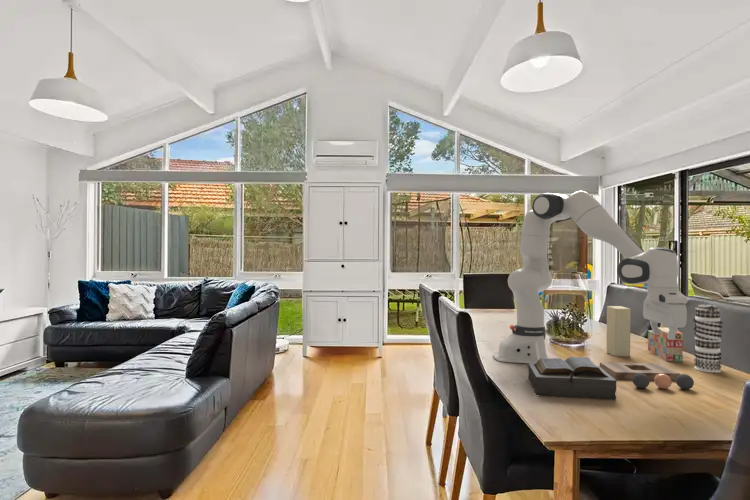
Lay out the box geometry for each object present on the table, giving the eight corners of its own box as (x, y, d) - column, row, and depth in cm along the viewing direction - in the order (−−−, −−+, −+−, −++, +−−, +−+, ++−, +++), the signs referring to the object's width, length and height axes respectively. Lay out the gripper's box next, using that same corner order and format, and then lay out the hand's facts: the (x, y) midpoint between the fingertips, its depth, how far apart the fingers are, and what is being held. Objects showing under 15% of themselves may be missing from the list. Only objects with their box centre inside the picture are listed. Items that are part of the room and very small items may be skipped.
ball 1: (636, 390, 149) (636, 375, 149) (629, 385, 154) (629, 371, 154) (652, 390, 149) (652, 375, 149) (644, 385, 154) (644, 371, 154)
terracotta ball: (658, 390, 149) (658, 375, 149) (651, 386, 154) (651, 371, 154) (674, 391, 148) (674, 376, 148) (666, 386, 153) (666, 371, 153)
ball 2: (681, 391, 148) (681, 376, 148) (672, 386, 153) (672, 371, 153) (697, 391, 148) (697, 376, 148) (688, 386, 153) (688, 372, 153)
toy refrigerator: (632, 356, 195) (632, 308, 195) (615, 356, 195) (615, 308, 195) (622, 352, 203) (622, 306, 203) (606, 352, 203) (606, 306, 203)
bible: (618, 406, 135) (618, 373, 135) (524, 395, 145) (524, 365, 145) (610, 384, 157) (610, 356, 157) (528, 376, 167) (528, 350, 167)
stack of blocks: (647, 350, 208) (647, 323, 208) (662, 350, 207) (662, 324, 206) (666, 361, 187) (666, 332, 187) (683, 362, 186) (683, 332, 186)
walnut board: (615, 379, 162) (615, 372, 162) (599, 368, 176) (599, 362, 176) (679, 380, 160) (679, 373, 160) (658, 369, 174) (658, 363, 174)
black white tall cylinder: (713, 374, 168) (713, 307, 168) (687, 367, 177) (687, 304, 176) (728, 371, 172) (728, 306, 172) (702, 365, 180) (702, 303, 180)
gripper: (637, 292, 161) (638, 330, 161) (669, 298, 141) (670, 342, 141) (656, 292, 161) (656, 331, 161) (690, 298, 141) (691, 342, 141)
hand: (663, 336), depth 151 cm, fingers open, 8 cm apart
